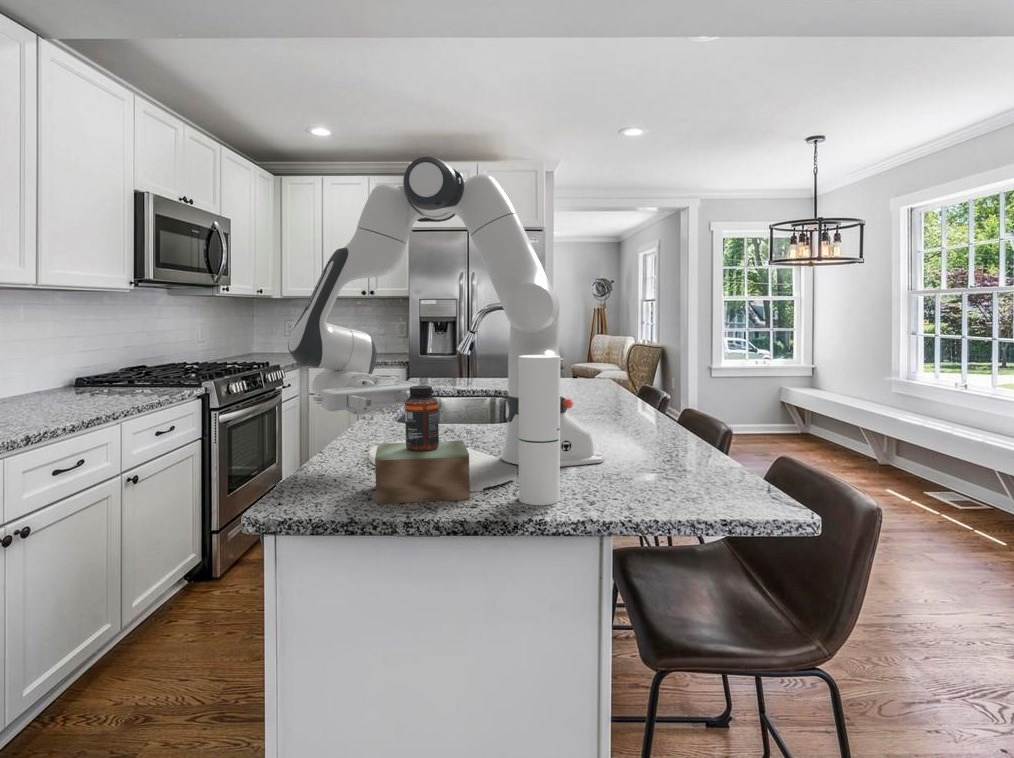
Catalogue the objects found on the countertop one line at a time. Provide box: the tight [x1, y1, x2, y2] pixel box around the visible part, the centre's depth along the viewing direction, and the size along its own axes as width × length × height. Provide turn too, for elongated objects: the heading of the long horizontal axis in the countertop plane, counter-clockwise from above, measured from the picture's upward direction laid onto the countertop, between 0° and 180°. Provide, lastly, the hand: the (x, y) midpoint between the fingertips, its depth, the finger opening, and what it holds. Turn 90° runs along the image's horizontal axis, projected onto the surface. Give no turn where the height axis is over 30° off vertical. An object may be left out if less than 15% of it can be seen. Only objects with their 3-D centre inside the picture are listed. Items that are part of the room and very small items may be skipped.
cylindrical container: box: [518, 355, 561, 506], centre depth 110 cm, size 7×7×25 cm
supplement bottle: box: [404, 384, 440, 451], centre depth 115 cm, size 6×6×11 cm
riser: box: [374, 440, 471, 505], centre depth 116 cm, size 16×12×8 cm
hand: (389, 400), depth 123 cm, fingers open, 8 cm apart
